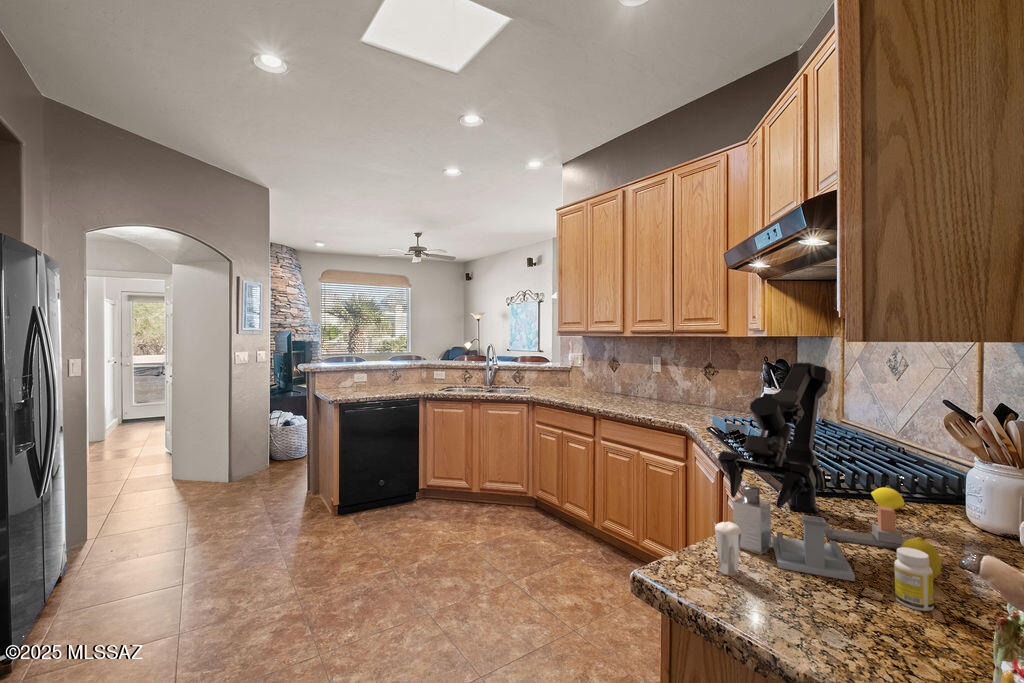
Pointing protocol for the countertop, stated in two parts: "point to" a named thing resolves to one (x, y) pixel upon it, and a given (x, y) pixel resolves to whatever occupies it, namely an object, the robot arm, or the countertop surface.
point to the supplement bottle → (913, 579)
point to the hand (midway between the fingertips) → (754, 501)
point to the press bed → (801, 566)
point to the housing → (753, 520)
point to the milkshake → (727, 547)
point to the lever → (886, 526)
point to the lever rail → (859, 538)
